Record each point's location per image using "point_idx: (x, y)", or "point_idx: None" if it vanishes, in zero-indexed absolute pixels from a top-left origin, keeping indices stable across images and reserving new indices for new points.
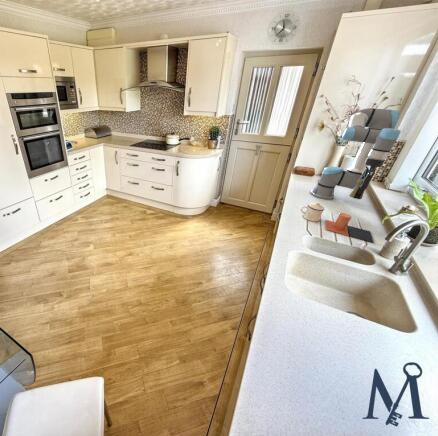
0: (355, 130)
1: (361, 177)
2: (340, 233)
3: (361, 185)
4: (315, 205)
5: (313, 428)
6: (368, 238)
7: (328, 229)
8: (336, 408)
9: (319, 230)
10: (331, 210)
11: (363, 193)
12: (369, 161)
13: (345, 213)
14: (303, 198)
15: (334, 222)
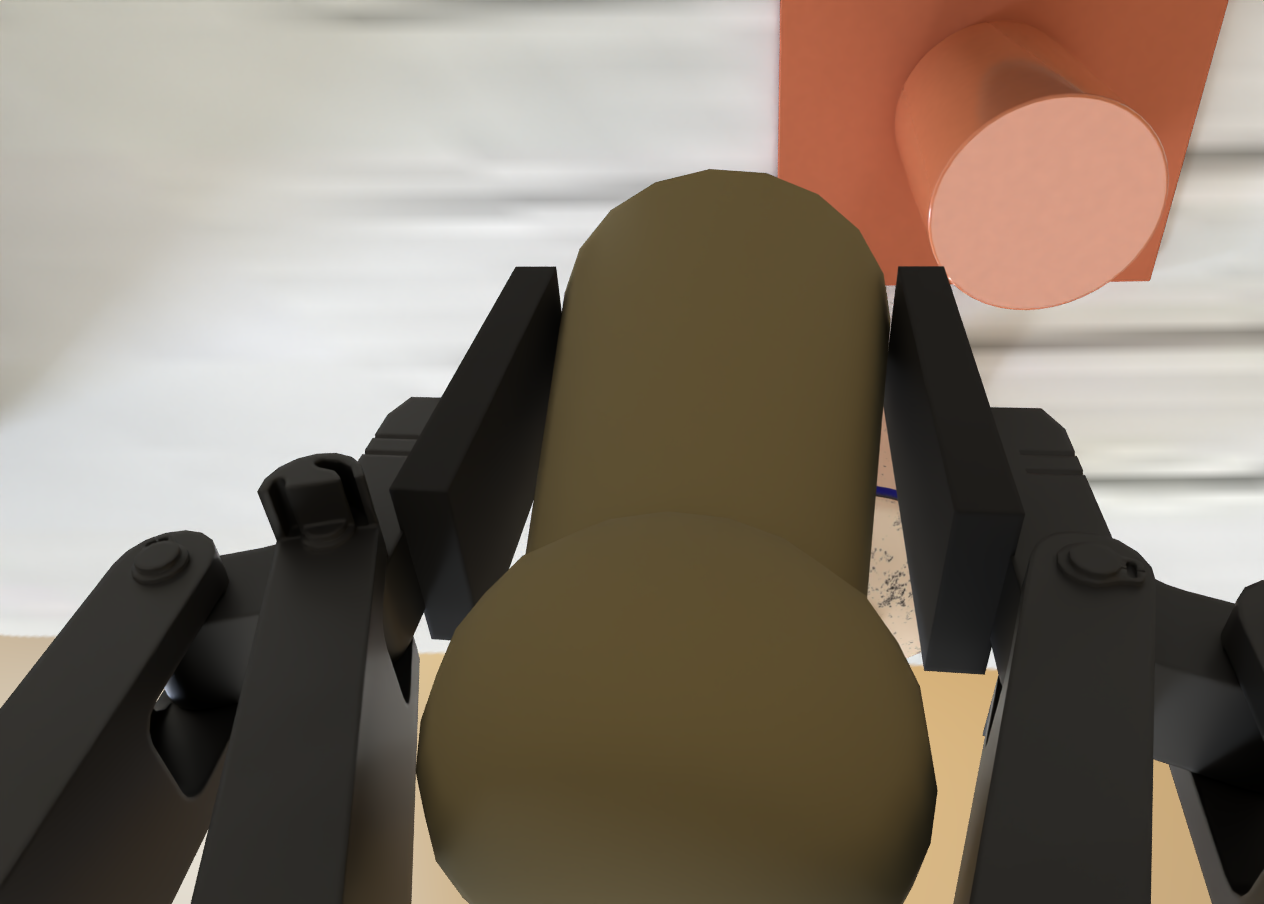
0: None
1: (163, 881)
2: (1200, 82)
3: (1229, 838)
4: (907, 632)
5: None
6: None
7: (1146, 257)
8: None
9: (1207, 352)
10: (282, 210)
11: (760, 284)
12: None
13: (944, 211)
14: (200, 530)
15: (798, 178)
